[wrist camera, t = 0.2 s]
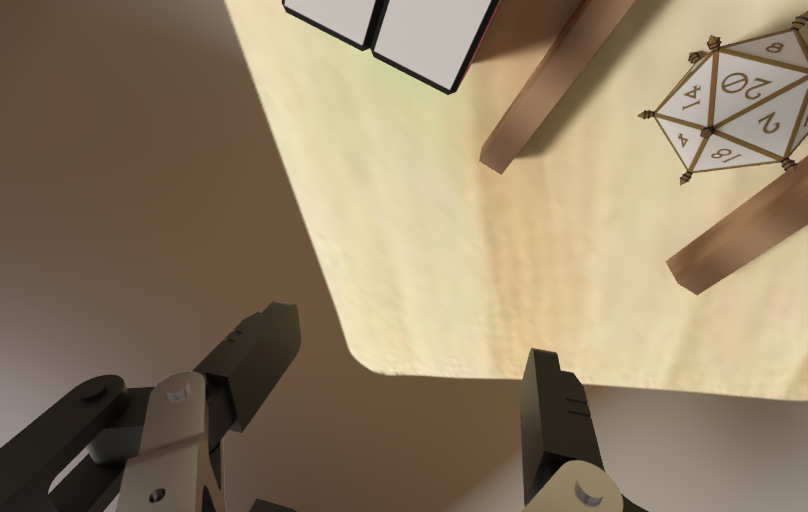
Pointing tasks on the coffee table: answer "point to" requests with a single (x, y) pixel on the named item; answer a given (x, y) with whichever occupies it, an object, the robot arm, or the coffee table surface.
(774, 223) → the chute
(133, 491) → the robot arm
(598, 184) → the coffee table surface
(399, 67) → the puzzle cube
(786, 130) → the game die
